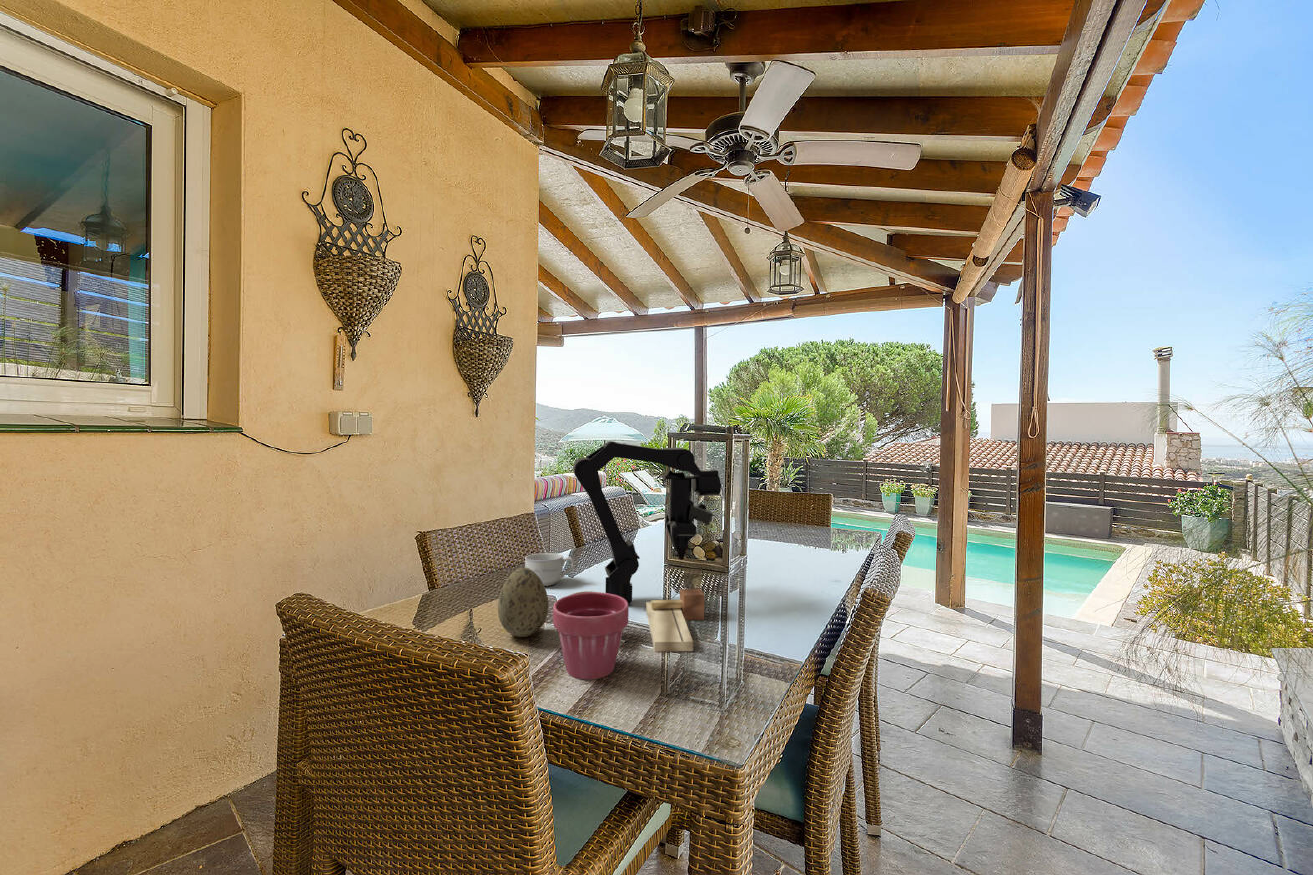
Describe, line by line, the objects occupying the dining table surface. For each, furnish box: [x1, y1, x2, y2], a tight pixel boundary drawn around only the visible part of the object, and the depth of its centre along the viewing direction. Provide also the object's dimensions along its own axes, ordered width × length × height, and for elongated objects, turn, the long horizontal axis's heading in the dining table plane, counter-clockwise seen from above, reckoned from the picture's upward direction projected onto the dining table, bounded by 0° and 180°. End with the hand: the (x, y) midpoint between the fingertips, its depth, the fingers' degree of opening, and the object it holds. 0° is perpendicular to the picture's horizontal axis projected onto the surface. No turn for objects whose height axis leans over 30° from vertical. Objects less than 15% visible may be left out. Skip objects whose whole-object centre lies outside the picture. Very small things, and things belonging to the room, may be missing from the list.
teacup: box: [524, 552, 576, 587], centre depth 163 cm, size 14×11×8 cm
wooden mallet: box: [650, 588, 705, 621], centre depth 139 cm, size 12×5×6 cm, turn 99°
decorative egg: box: [497, 566, 550, 638], centre depth 125 cm, size 11×11×15 cm
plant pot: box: [552, 591, 629, 680], centre depth 109 cm, size 14×14×13 cm
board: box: [645, 601, 694, 653], centre depth 131 cm, size 8×25×2 cm, turn 5°
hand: (679, 554), depth 151 cm, fingers open, 9 cm apart
